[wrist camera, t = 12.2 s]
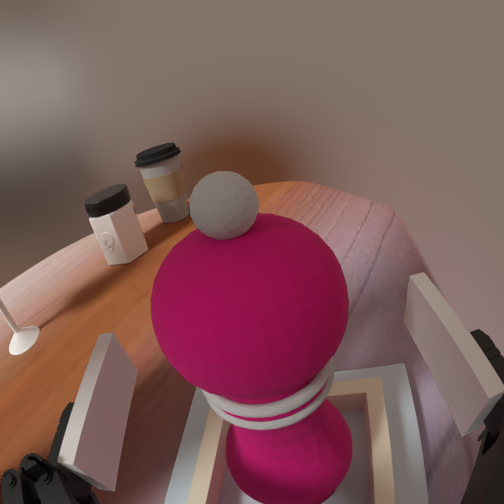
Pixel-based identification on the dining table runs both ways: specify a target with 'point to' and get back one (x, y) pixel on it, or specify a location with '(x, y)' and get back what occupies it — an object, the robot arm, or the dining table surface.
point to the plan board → (363, 440)
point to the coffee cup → (164, 181)
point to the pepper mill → (259, 339)
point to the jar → (116, 225)
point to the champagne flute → (19, 333)
